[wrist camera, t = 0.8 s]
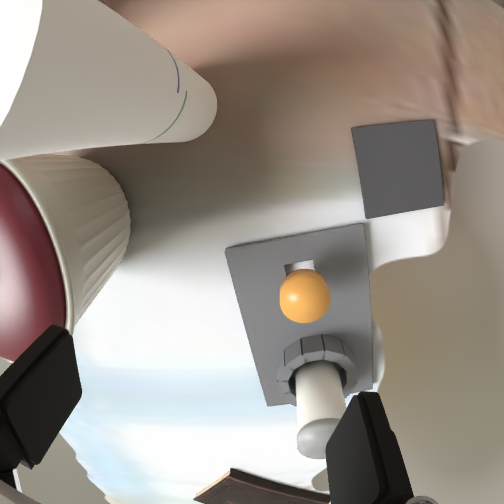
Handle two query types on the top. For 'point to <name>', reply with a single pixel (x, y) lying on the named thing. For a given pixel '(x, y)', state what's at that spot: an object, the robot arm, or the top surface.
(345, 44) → the top surface
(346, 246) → the plate
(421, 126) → the mat
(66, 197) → the canister
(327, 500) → the hardcover book
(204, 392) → the top surface
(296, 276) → the plunger
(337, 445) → the robot arm
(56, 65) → the cylindrical container
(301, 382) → the cylinder
